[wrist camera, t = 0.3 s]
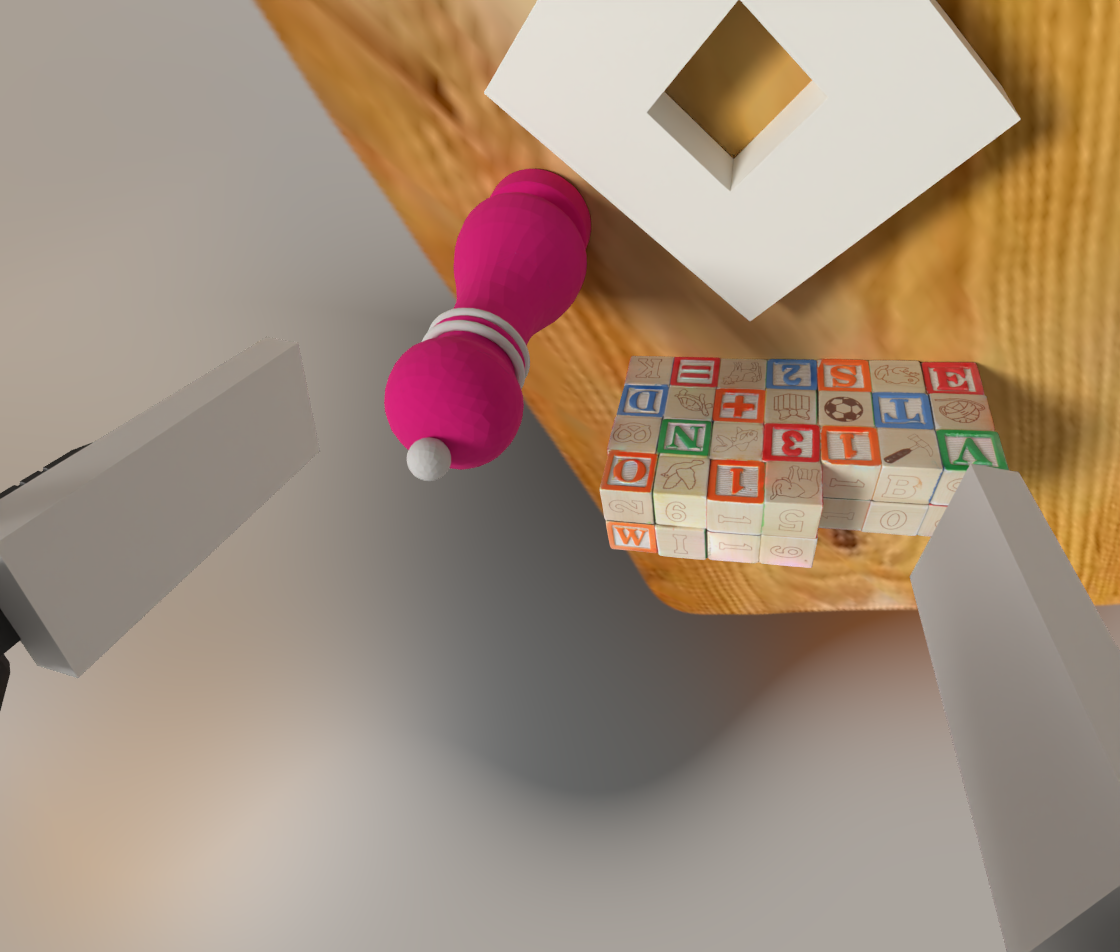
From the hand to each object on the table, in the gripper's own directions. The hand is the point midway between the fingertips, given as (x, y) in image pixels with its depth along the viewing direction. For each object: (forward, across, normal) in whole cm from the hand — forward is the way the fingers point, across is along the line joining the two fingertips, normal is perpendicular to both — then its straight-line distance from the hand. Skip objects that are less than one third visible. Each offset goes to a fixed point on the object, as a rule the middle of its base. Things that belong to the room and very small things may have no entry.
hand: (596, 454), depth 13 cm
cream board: (+26, +1, +5) cm, 26 cm away
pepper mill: (+27, -9, -3) cm, 29 cm away
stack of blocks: (+31, +8, -13) cm, 35 cm away
